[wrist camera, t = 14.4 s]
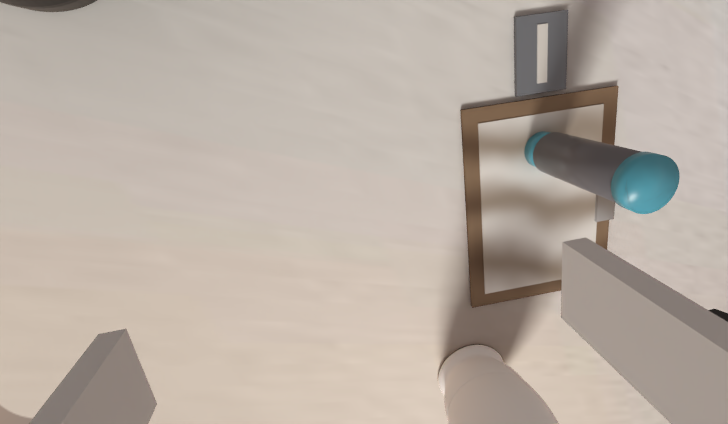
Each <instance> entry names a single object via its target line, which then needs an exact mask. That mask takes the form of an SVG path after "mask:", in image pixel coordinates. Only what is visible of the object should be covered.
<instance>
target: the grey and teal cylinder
mask: <svg viewBox="0 0 728 424" xmlns="http://www.w3.org/2000/svg"><path fill="white" fill-rule="evenodd" d="M524 155H525V158H526V160H527V162H528V163H529V164H530V165H532V166H534V167H537V169H538V170H540V171H541V172H543V173H546V174H548V175H551V176H553V177H555V178H558V179H560V180H563V181H565V182H567V183H570V184H572V185H575V186H577V187H579V188H582V189H584V190H586V191H589V192H591V193H594V194H596V195H598V196H601V197H603V198H606V199H608V200H610V201H613V202H615V203H617V204H618V205H620V206H621V207H623V208H626V209H628V210H631V211H633V212H635V213H639V214H648V213H652V212H655V211H657V210H659V209H660V208H662V207H663V206H665V205H666V204H667V203H668V202H669V201H670V199H671V198H672V197H673V195H674V194H675V192H676V189H677V187H678V183H679V170H678V167H677V165H676V163H675V162H674V161H673V160H672V159H671V158H669V157H667V156H664V155H659V154H655V153H651V152H640V151H636V150H632V149H627V148H623V147H619V146H615V145H610V144H606V143H602V142H598V141H594V140H589V139H585V138H581V137H577V136H572V135H568V134H564V133H560V132H552V133H551V132H546V131H542V132H538V133H536V134H534V135H533V136H532V137H531V138H530V139H529V140H528V141H527V143H526V146H525V150H524Z"/></svg>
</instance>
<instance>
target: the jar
mask: <svg viewBox="0 0 728 424" xmlns="http://www.w3.org/2000/svg"><path fill="white" fill-rule="evenodd" d="M438 384H439V388H440V390H441V392H442V394H443V395H444V403H445V411H446V416H447V420H448V423H449V424H559V423H558V421H557V420H556V418H555V416H554V415H553V413H552V411H551V410H550V408H549V407H548V406H547V404H546V403H545V402H544V400H543V399H542V398H541V397H540V396H539V394H538V393H537V392H536V391H535V390H534V389H533V388H532V387H531V386H530V385H529V384H528V383H527V382H525V381H524V380H523V379H522V377H521V376H520V375H519V374H518V373H517V372H515V371H514V370H513V369H512V368H511V367H509V366H508V365H506V364H504V361H503V359H502V357H501V356H500V354H499V353H498V352H497V351H496V350H494V349H492V348H490V347H488V346H484V345H471V346H466V347H463V348H461V349H459V350H457V351H455V352H454V353H453V354H451V355H450V356H449V357H448V358H447V359H446V360H445V362H444V363H443V365H442V367H441V369H440V371H439V376H438Z"/></svg>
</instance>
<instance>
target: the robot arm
mask: <svg viewBox="0 0 728 424" xmlns="http://www.w3.org/2000/svg"><path fill="white" fill-rule="evenodd" d="M95 1H97V0H0V2H2V3H5V4H9V5H13V6H17V7H21V8H25V9H30V10H35V11H43V12H62V11H69V10H74V9H78V8H81V7H84V6H87V5H89V4H91V3H93V2H95ZM561 318H562V319H563V320H564V321H565V322H566V323H567V324H568V325H570V326H571V327H572V328H573V329H574V330H575V331H576V332H577V333H578V334H579V335H580V336H581V337H582V338H583V339H584V340H585V341H586V342H587V343H588V344H589V345H590V346H591V347H592V348H593V349H594V350H595V351H596V352H597V353H599V354H600V355H601V356H602V357H603V358H604V359H605V360H606V361H607V362H608V363H609V364H610V365H611V366H612V367H613V368H614V369H615V370H616V371H617V372H618V373H619V374H620V375H621V376H622V377H623V378H624V379H625V380H626V381H628V382H629V383H630V384H631V385H632V386H633V387H634V388H635V389H636V390H637V391H638V392H639V393H640V394H641V395H642V396H643V397H644V398H645V399H646V400H647V401H648V402H649V403H650V404H651V405H652V406H653V407H654V408H655V409H657V410H658V411H659V412H660V413H661V414H662V415H663V416H664V417H665V418H666V419H667V420H668V421H669V422H670V423H671V424H728V313H725V312H722V311H719V310H717V309H712V310H707V309H705V308H703V307H702V306H700V305H698V304H697V303H695V302H693V301H692V300H690V299H688V298H687V297H685V296H683V295H682V294H680V293H678V292H677V291H675V290H673V289H672V288H670V287H668V286H667V285H665V284H663V283H662V282H660V281H658V280H656V279H655V278H653V277H651V276H650V275H648V274H646V273H645V272H643V271H641V270H640V269H638V268H636V267H635V266H633V265H631V264H630V263H628V262H626V261H625V260H623V259H621V258H620V257H618V256H616V255H615V254H613V253H611V252H610V251H608V250H606V249H604V248H603V247H601V246H599V245H598V244H596V243H594V242H593V241H591V240H589V239H588V238H586V237H585V238H580V239H575V240H570V241H565V242H562V287H561ZM156 405H157V403H156V400H155V398H154V395H153V393H152V390H151V388H150V385H149V383H148V381H147V378H146V376H145V373H144V371H143V368H142V366H141V364H140V361H139V359H138V356H137V354H136V351H135V349H134V346H133V344H132V342H131V339H130V337H129V334H128V332H127V329H123V330H118V331H113V332H108V333H103V334H98V335H97V337H96V338H95V339H94V341H93V342H92V343H91V344H90V346H89V347H88V348H87V350H86V351H85V352H84V353H83V355H82V356H81V357H80V359H79V360H78V361H77V362H76V364H75V365H74V366H73V368H72V369H71V370H70V371H69V373H68V374H67V375H66V377H65V378H64V379H63V380H62V382H61V383H60V384H59V386H58V387H57V388H56V389H55V391H54V392H53V393H52V395H51V396H50V397H49V399H48V400H47V401H46V402H45V404H44V405H43V406H42V408H41V409H40V410H39V411H38V413H37V414H36V415H35V417H34V418H33V419H32V420H31V422H30V423H29V424H148V423H149V421H150V418H151V416H152V414H153V412H154V409H155V407H156Z"/></svg>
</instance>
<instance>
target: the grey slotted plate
mask: <svg viewBox="0 0 728 424" xmlns="http://www.w3.org/2000/svg"><path fill="white" fill-rule="evenodd" d="M567 35H568V10H563V11H556V12H548V13H541V14H534V15H527V16H519V17H514V60H515V96H523V95H529V94H536V93H542V92H549V91H555V90H562V89H566V69H567Z"/></svg>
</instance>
